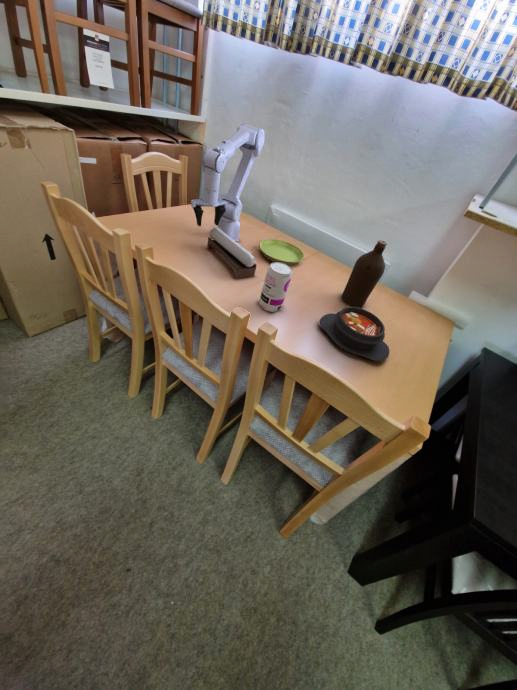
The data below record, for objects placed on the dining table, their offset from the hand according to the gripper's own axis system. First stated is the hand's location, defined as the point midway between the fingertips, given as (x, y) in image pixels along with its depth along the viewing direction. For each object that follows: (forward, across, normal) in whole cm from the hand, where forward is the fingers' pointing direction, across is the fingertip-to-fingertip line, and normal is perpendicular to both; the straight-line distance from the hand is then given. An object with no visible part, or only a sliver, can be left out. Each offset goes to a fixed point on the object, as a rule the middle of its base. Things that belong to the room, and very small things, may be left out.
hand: (207, 224), depth 117 cm
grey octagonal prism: (+6, +4, -13) cm, 15 cm away
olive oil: (+10, +40, -51) cm, 66 cm away
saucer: (+10, +31, -13) cm, 35 cm away
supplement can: (+10, +4, -43) cm, 44 cm away
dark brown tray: (+10, +4, -13) cm, 17 cm away
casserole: (+10, +21, -68) cm, 72 cm away
